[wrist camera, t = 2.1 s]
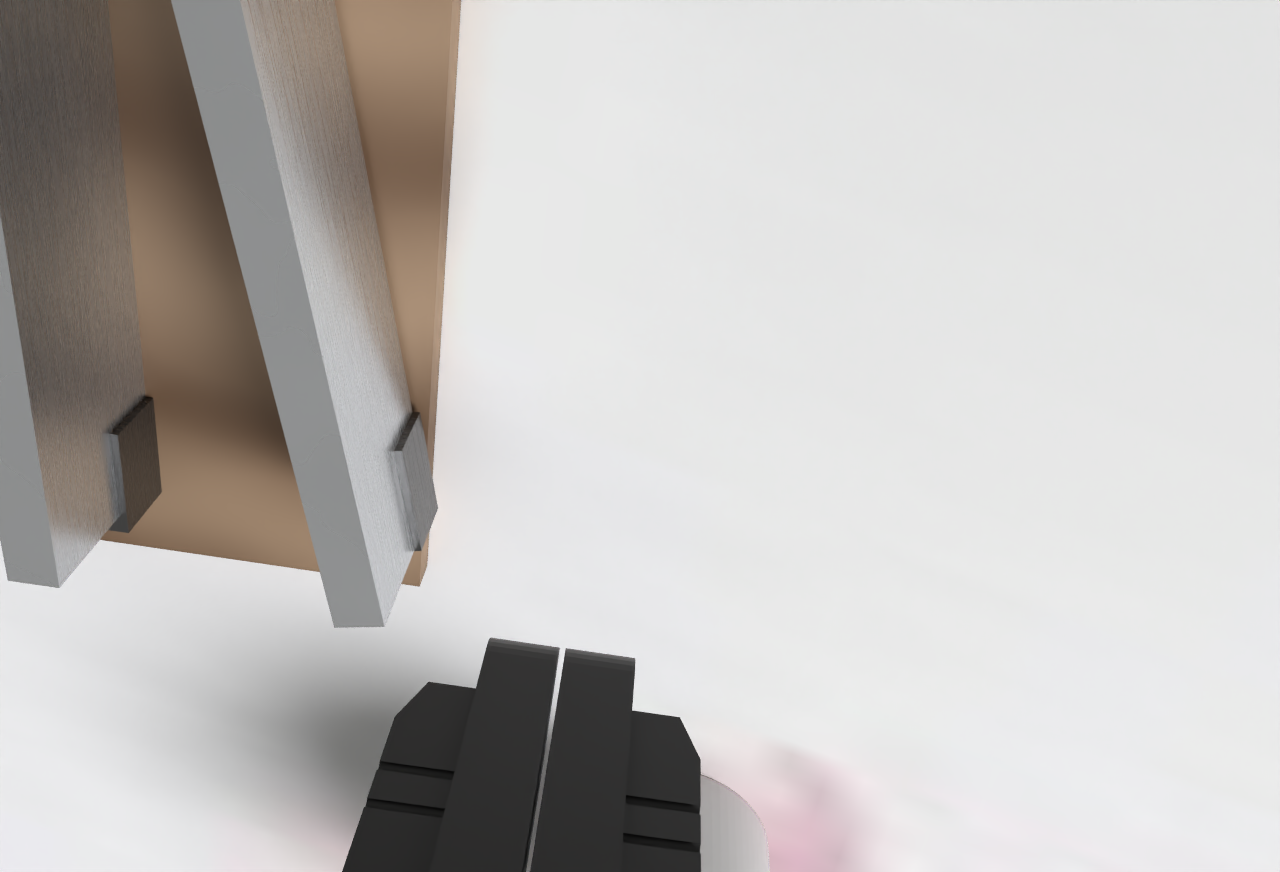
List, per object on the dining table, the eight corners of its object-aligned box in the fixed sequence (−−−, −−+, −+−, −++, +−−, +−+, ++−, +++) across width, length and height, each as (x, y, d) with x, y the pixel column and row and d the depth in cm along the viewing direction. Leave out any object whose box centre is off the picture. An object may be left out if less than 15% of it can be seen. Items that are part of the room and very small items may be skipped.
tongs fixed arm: (-40, -679, 18) (-340, -886, 13) (192, -637, 18) (-13, -825, 13) (104, 483, 30) (-23, 623, 24) (244, 504, 30) (148, 648, 25)
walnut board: (-250, -740, 18) (-296, -768, 18) (497, -602, 19) (487, -622, 18) (-13, 500, 31) (-33, 520, 30) (427, 565, 32) (419, 586, 31)
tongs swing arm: (182, -401, 20) (35, -466, 15) (267, -408, 19) (144, -475, 15) (380, 509, 29) (326, 627, 25) (438, 508, 29) (393, 626, 25)
